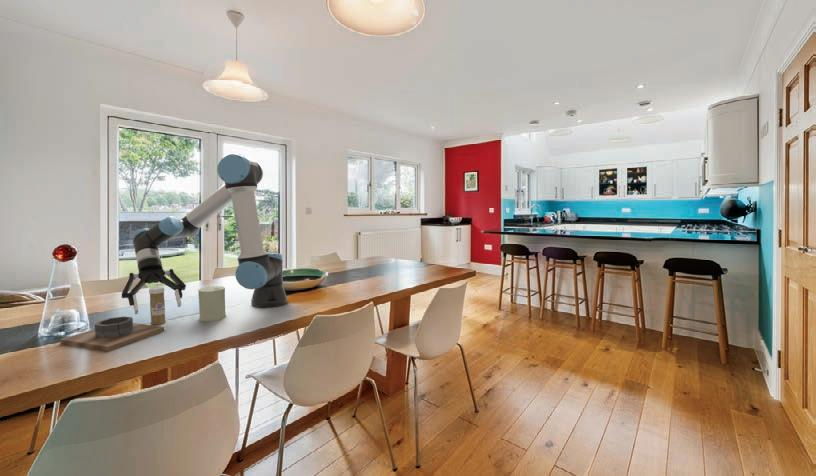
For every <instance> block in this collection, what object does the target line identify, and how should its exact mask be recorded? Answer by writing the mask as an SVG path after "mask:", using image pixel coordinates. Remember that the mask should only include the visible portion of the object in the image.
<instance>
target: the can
mask: <svg viewBox="0 0 816 476" xmlns="http://www.w3.org/2000/svg"><path fill="white" fill-rule="evenodd" d="M198 307H199V318H198V320H199V321H201V322H214V321H219V320H223V319H224V318H226V317H227V314H226V313H227V312H226V287H225V286H220V285H219V286H218V285H217V286H215V285H214V286H204V287H201V288H199V289H198Z"/></svg>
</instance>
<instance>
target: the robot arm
mask: <svg viewBox="0 0 816 476" xmlns="http://www.w3.org/2000/svg"><path fill="white" fill-rule="evenodd" d="M216 167H217V168H216V171H217V174H218V177H219V179H221V180H222V181H223V183H224V184H222V186H220V187H219V188H217V190H215V191H213V193H211V195H209V196H208V197H207V198H205V199H204V200H203V201H202V202H200V204H198V205H196V207H194V208H193V209H192V210H191V211H190V212H188V213H187V214H186V215H185V216H184V217H183V218H181V219H179V218H177V217H175V216H171V215H170V216H167V217H165V218H163V219H161V220H160V221H159V222H158V223H155V225H153V226H152V227H151V228H146V227H145V228H141V229H137V230H135V231H134V232H133V233H132V244H133V248H134V251H135V258H136V263H137V269H138V273H134V272H129V276H128V280H127V282H126V283H125V286H124V288H123V289H122V292H121V299H128V304H129V306H130V307H131V306H132V307H133V310H134V314H135V315H138V314H139V307H138V306H139V305H138V302H137V300H138V299H137V295H136V294H137V293H138V292H139V291H140V290H141V289H142V288H143V287H144V286H145V285H146V284H148V285H149V284H158V283H161V284H164V285H165V286H166V287H169V288H170V289H172V290H173V291H174V296H175V301H176V304H177V308H180V307H181V306H182V299H183V292H182V291H186V289H187V288H186V286H187V285H186V284H185V282H184V281H182V280H181V279H180V277H179V276H178V275H177V274H176V273H175V271H174V269H172V268H170V269H168V270H165V269H164V268H163V264H162V261H161V259H162V258H161V255H160V251H159V247H160V246H162V245H164V244H166V243H167V242H168V241H170V240H171V239H172V240H173V239H180V238H190V237H193V236H196V235H197V234H198V233H199V232H200V228H202V227H203V226H204V225H205V224H207V223H208V222H209V221H210V220H211V219H212V218H214V217H215V216H216V215H218V214H219V213H221V211H223V210H225V208H226V207H228V205H230V204H231V203H232V209H233V213H234V221H235V226H236V233H237V238H238V244H239V249H240V251H239V252H240V253H239V255H238V256H237V263H238V266H237V268H236V269H235V273H234V276H235V279H236V282H237V283H238V284H239V285H240V286H241V287H243V288H245V289H247V290H253V293H252V297H251V300H250V301H251V303H250V304H251V306H252V307H255V308H274V307H279V306H283V305H285V304H287V302H288V296H287V294H286V291H285V289H284V288H285V287H284V284H283V283H284V281H283V278H284V277H283V276H284V275H283V261H284V260H283V255H282V254H281V253H276V252H275V253H274V252H273V253H271V252H270V253H269V252H268V251H266V250H265V249H264V243H263V237H262V233H261V227H260V220H259V219H260V218H259V214H258V206H257V201H256V196H255V191H256V190H257V189H258V185H259V183H260V182H261V181H262V179H263V176H264V170H263V167H262V165H261V164H260V163H259V162H258V161H257V160H255V159H254V158H251V157H248V156H245V155H242V154H240V153H228V154H226V155H224V156H223V157H221V158H220V160H219V162H218V163H217V166H216ZM168 277H169V278H170V279H169V278H168ZM137 278H138V279H139V281H138V283H137V284H136V285H135V286H134V287H133V288H132V289H131V287H132V286H133V283H134V281H135V280H137Z"/></svg>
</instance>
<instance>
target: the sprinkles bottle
mask: <svg viewBox="0 0 816 476" xmlns="http://www.w3.org/2000/svg"><path fill="white" fill-rule="evenodd" d="M148 290H149V291H148V292H149V307H150V308H149V309H150V313H149V314H150V325H153V326H156V325H161V324H164V323H166V320H167V319H166V303H165V287H164V286H153V287H150V288H149V289H148Z"/></svg>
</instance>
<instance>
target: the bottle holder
mask: <svg viewBox="0 0 816 476" xmlns="http://www.w3.org/2000/svg"><path fill="white" fill-rule="evenodd" d="M133 320H134V318H133V317H132V316H115V317H109V318H106V319H102V320H98V321H97V322H96V323H95V324H94V328H93V329H91V330H87V331H84V332H80V333H77V334H74V335H69V336H67V337H63V338H61V339H59V344H60V345H66V346H69V347H70V346H72V347H75V348H76V347H77V348H84V349H90V350H95V351H103V352H111V351H114V350H115V349H116V350H117V349H119V348H121V347H124V346H127V345H130V344H133V343H135V342H137V341H141V340H143V339H147V338H149V337H152V336H154V335H157V334H160V333H164V332H165V326H161V325H154V324H145V323H144V324H143V323H137V322H133Z"/></svg>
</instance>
